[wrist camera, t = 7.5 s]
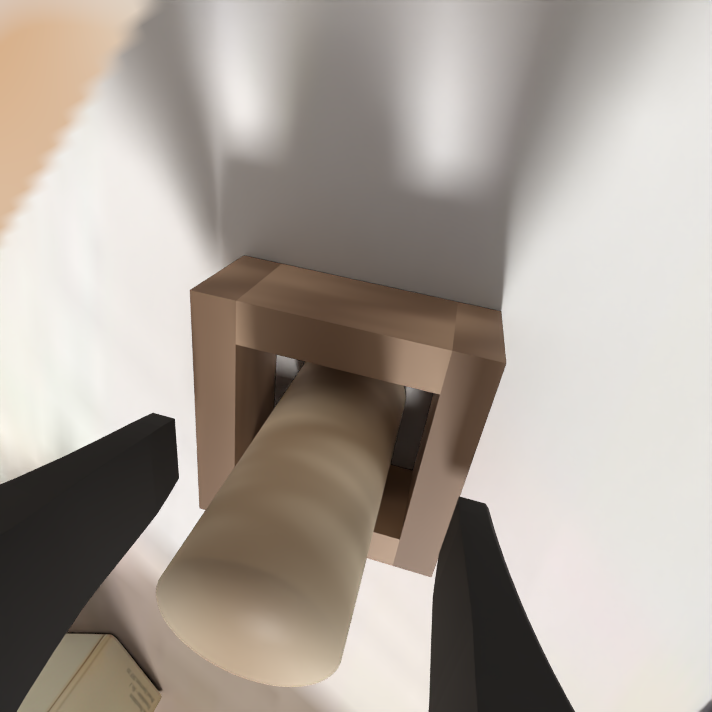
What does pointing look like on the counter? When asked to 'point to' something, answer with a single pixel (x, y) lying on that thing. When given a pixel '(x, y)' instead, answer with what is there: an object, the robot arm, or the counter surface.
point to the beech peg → (288, 534)
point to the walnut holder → (355, 355)
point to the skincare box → (91, 679)
